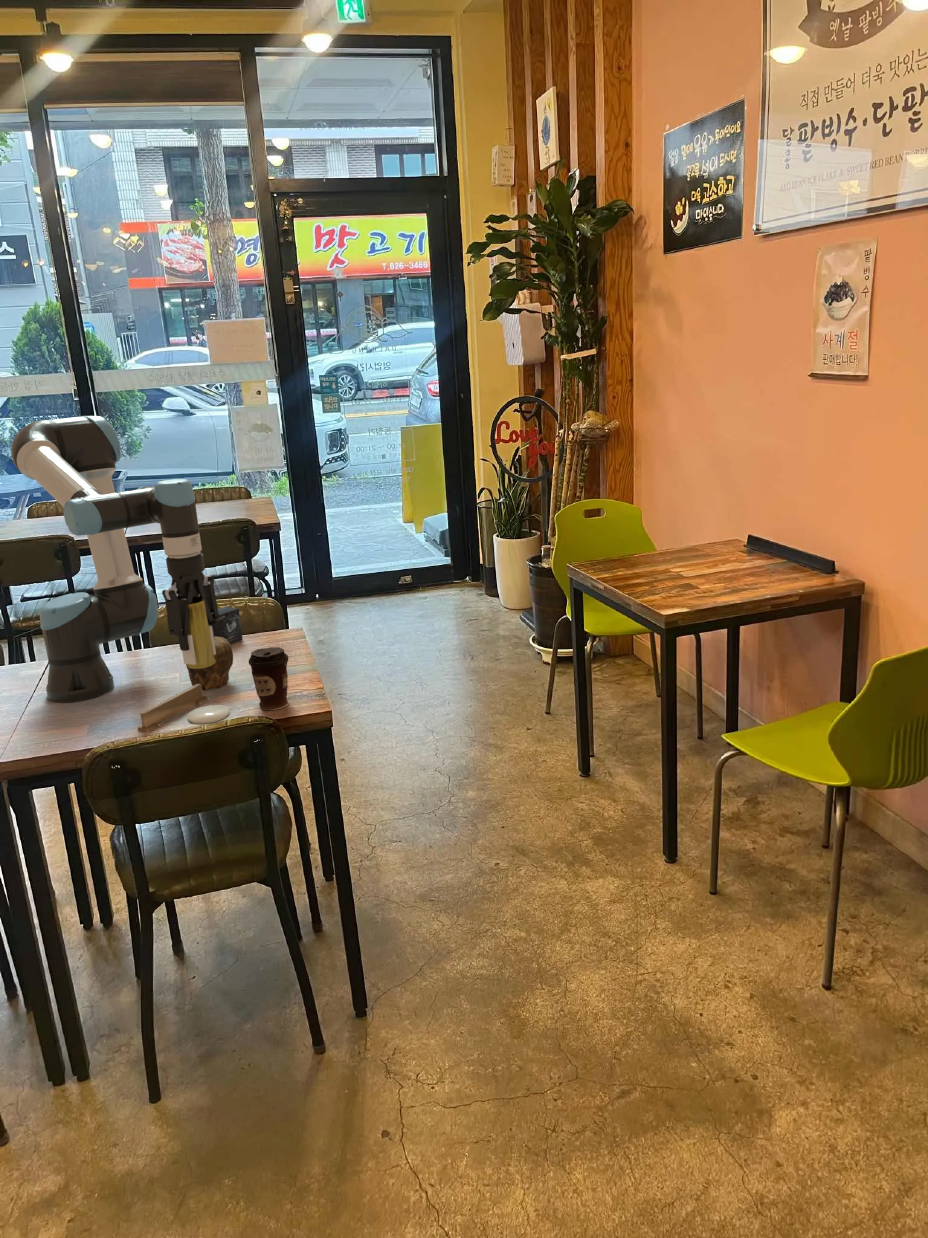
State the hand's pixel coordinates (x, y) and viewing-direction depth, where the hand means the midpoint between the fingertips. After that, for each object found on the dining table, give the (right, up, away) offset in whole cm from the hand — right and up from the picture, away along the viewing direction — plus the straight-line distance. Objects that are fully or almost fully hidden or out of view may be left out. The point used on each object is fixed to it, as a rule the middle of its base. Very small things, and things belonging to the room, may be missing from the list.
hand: (200, 658), depth 194 cm
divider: (-7, -13, +6) cm, 16 cm away
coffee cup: (+14, -11, +7) cm, 20 cm away
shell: (-3, -8, +23) cm, 24 cm away
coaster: (+1, -13, +4) cm, 13 cm away
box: (-9, +1, +54) cm, 55 cm away
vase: (0, -1, 0) cm, 2 cm away
